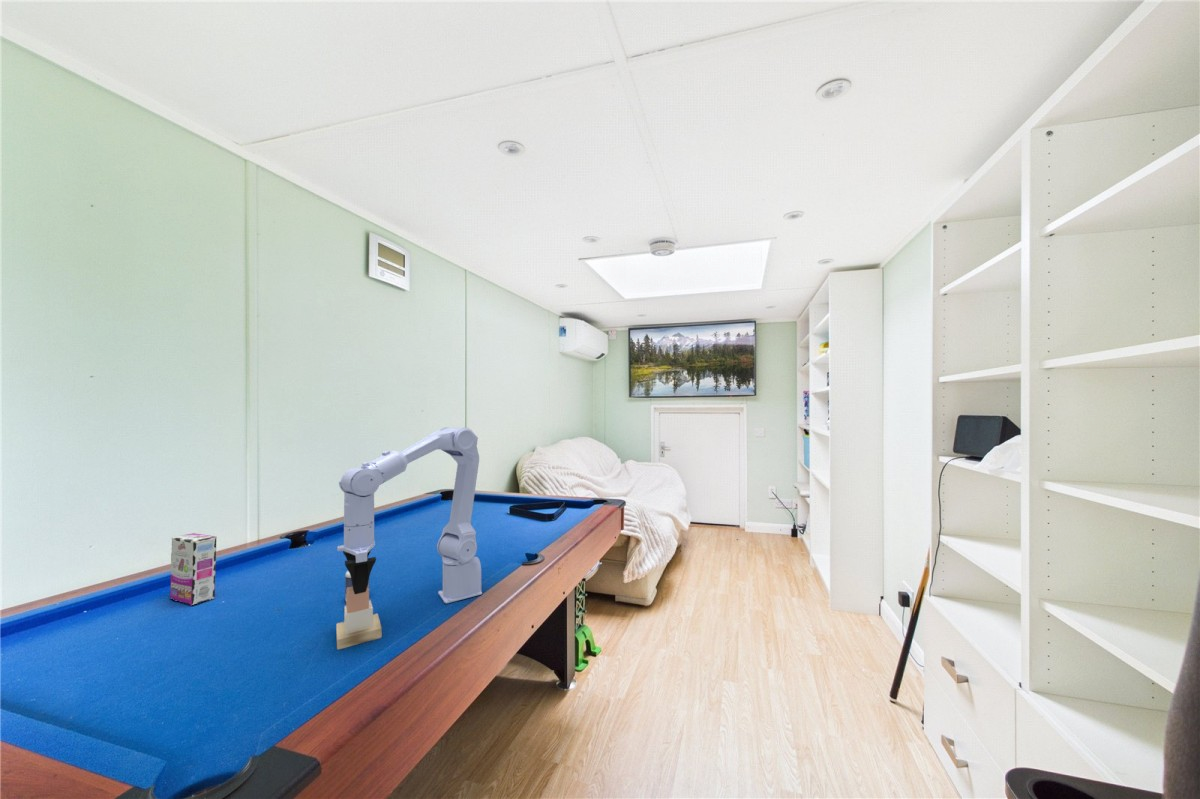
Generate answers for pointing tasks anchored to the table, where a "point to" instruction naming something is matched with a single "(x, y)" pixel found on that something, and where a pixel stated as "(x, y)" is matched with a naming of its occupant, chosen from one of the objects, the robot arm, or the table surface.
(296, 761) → the table surface
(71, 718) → the table surface
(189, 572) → the candy bar box
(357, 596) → the terracotta cube
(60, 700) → the table surface
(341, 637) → the oak slab
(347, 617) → the cream cube
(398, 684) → the table surface
